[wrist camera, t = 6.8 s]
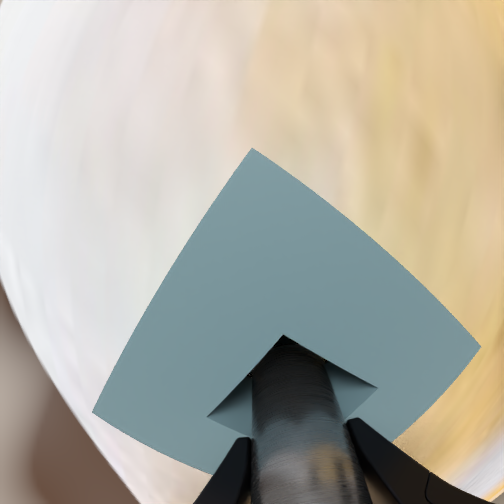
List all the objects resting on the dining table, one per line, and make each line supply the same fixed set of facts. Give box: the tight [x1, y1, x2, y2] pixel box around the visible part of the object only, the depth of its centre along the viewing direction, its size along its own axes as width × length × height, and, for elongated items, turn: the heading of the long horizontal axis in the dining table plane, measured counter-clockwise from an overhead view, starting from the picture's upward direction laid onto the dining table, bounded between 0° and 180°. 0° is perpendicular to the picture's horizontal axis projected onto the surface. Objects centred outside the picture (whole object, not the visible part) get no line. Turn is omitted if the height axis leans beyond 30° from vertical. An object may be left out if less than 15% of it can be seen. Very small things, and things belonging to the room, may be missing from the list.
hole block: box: [92, 148, 481, 475], centre depth 11 cm, size 12×12×4 cm
